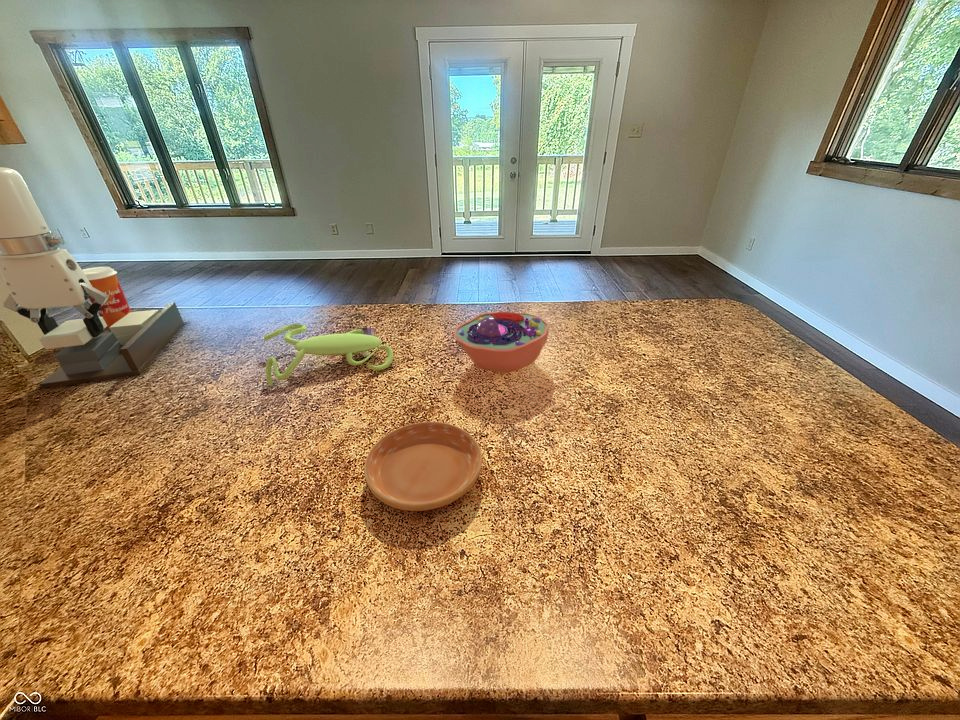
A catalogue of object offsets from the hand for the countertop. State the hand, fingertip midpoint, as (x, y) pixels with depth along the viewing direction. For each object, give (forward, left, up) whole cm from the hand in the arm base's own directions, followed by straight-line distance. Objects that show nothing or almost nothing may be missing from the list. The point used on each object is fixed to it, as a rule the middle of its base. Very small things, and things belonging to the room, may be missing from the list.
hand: (77, 335), depth 76 cm
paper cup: (-5, +25, -7) cm, 27 cm away
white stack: (+5, +12, -7) cm, 15 cm away
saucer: (+61, -51, -7) cm, 80 cm away
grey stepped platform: (+3, +6, -7) cm, 10 cm away
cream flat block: (0, 0, 0) cm, 0 cm away
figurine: (+46, -12, -7) cm, 49 cm away
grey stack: (+1, 0, -7) cm, 7 cm away
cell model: (+82, -26, -7) cm, 86 cm away
